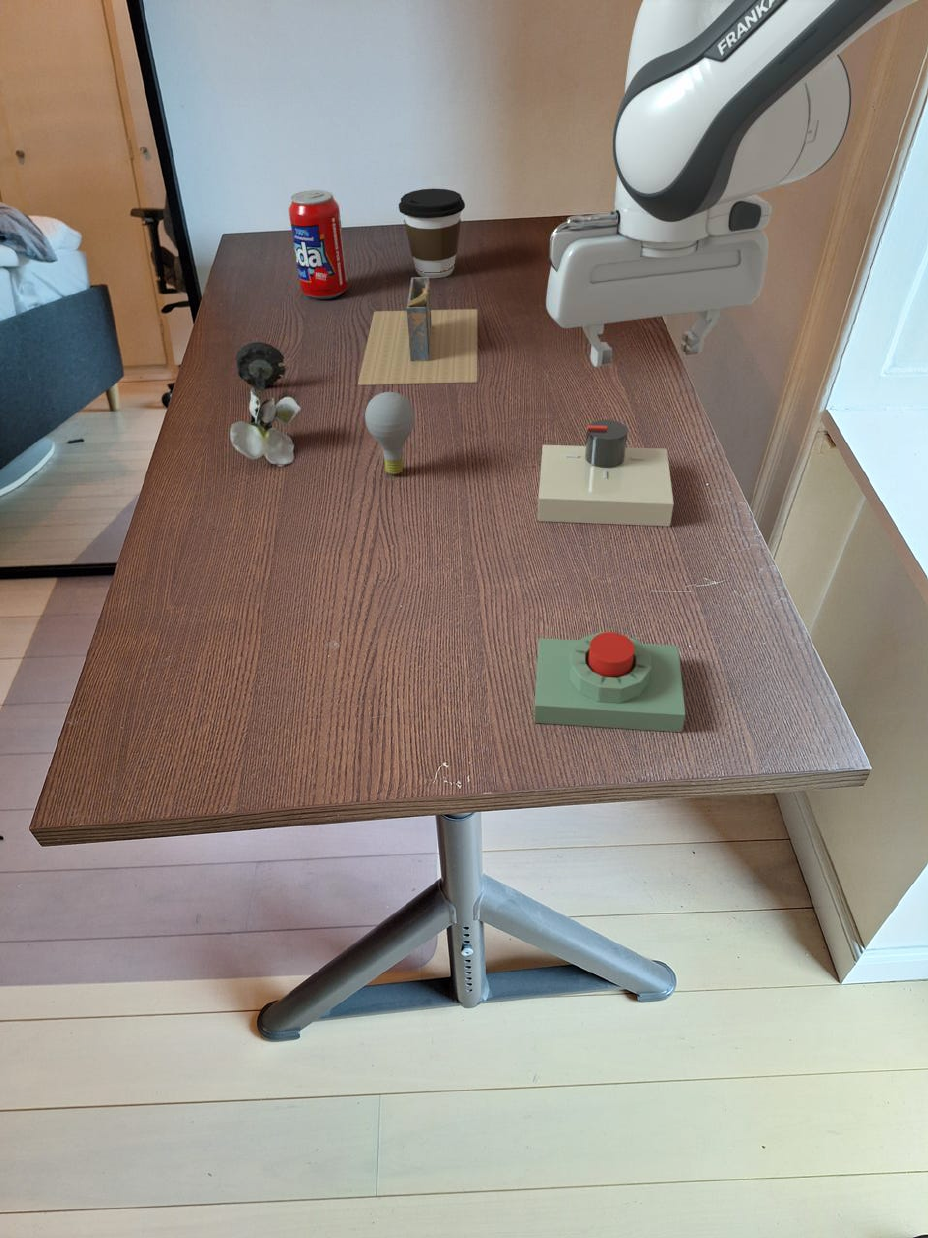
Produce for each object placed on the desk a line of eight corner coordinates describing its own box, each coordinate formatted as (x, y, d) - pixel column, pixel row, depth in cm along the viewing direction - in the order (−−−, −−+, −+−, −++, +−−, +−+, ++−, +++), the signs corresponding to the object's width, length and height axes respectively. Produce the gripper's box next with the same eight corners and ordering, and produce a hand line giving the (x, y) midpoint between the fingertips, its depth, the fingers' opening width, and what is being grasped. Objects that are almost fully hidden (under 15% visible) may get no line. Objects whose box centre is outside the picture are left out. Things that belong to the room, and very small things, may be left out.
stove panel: (662, 462, 99) (666, 438, 97) (670, 527, 90) (674, 502, 88) (542, 458, 101) (543, 434, 99) (537, 521, 91) (538, 496, 89)
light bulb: (423, 481, 98) (417, 401, 91) (377, 489, 97) (368, 409, 90) (412, 457, 102) (406, 379, 95) (367, 465, 101) (358, 387, 94)
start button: (631, 648, 71) (633, 633, 70) (633, 679, 69) (635, 664, 67) (588, 646, 72) (589, 630, 70) (588, 676, 69) (589, 661, 68)
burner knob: (624, 447, 96) (627, 417, 94) (625, 468, 93) (628, 437, 90) (584, 446, 97) (587, 416, 94) (584, 467, 93) (587, 436, 91)
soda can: (358, 291, 141) (347, 194, 131) (321, 305, 137) (306, 206, 127) (329, 280, 145) (317, 184, 135) (292, 293, 141) (276, 196, 131)
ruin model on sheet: (477, 382, 116) (476, 311, 109) (357, 384, 116) (349, 314, 110) (477, 309, 134) (476, 245, 128) (374, 311, 135) (368, 247, 128)
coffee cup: (431, 288, 141) (427, 211, 133) (390, 271, 147) (384, 197, 139) (479, 271, 146) (478, 196, 138) (438, 255, 152) (435, 183, 144)
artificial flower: (300, 389, 118) (309, 324, 111) (290, 494, 104) (300, 428, 96) (234, 377, 116) (239, 310, 109) (214, 483, 101) (218, 414, 94)
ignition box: (674, 663, 75) (681, 630, 72) (681, 732, 69) (689, 699, 66) (538, 655, 76) (539, 622, 73) (534, 723, 70) (535, 690, 68)
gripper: (563, 229, 69) (554, 386, 79) (790, 205, 73) (756, 358, 82) (539, 206, 74) (534, 357, 83) (754, 185, 77) (726, 332, 87)
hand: (646, 357), depth 83 cm, fingers open, 8 cm apart
